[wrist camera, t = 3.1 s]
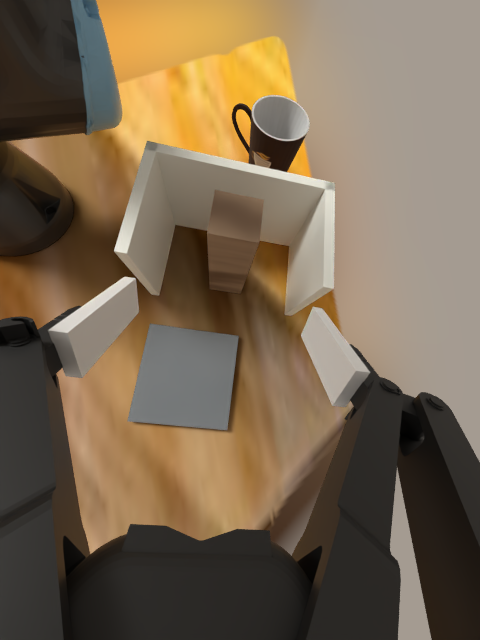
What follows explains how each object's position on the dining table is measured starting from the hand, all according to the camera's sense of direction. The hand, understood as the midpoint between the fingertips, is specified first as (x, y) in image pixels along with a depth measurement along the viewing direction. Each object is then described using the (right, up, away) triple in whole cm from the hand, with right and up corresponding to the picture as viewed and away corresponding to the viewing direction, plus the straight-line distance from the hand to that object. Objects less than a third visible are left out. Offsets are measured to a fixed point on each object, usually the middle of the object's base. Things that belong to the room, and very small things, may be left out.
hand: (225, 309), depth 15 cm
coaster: (-6, -9, +14) cm, 17 cm away
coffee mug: (+5, +27, +24) cm, 36 cm away
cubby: (-1, +8, +18) cm, 20 cm away
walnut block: (-1, +6, +18) cm, 19 cm away
